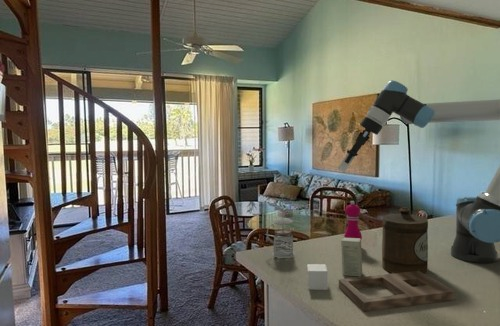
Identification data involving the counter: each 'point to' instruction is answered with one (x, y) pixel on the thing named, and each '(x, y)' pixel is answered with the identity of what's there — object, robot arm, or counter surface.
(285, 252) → the french press
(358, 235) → the pepper mill
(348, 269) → the skincare box
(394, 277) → the walnut plate
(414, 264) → the wooden container
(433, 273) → the counter surface
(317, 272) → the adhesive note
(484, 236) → the robot arm
